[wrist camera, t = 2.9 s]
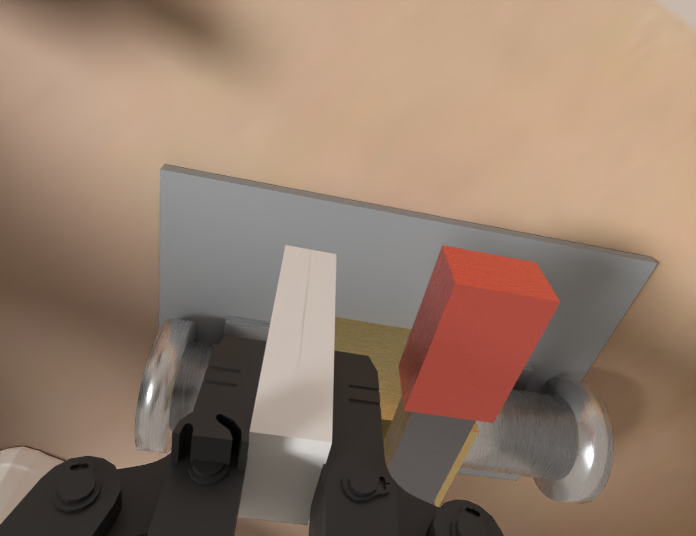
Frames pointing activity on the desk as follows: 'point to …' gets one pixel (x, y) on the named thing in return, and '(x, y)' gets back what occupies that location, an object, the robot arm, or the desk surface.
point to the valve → (385, 353)
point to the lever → (462, 359)
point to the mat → (368, 264)
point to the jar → (21, 475)
